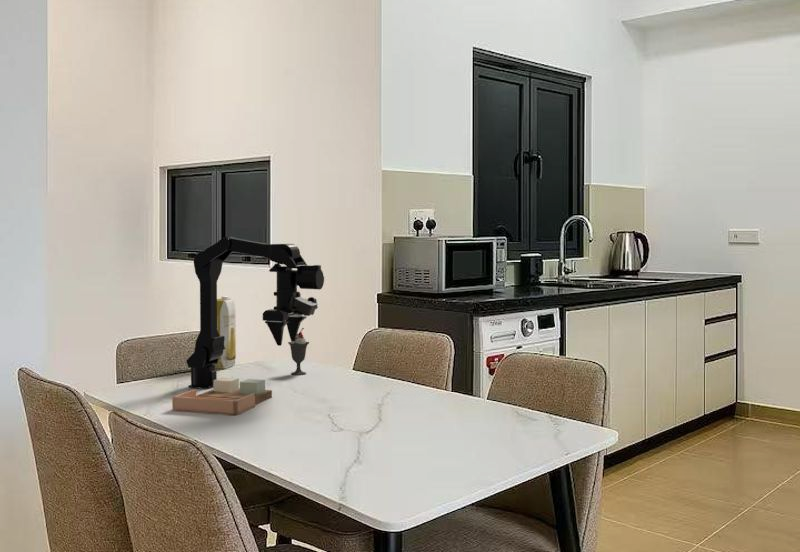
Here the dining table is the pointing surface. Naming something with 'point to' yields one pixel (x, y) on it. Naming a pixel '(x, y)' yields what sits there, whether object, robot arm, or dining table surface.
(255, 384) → the sage green square block
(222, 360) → the juice carton
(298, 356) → the sundae
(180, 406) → the tray
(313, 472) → the dining table surface
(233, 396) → the board
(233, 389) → the ivory rectangular block
